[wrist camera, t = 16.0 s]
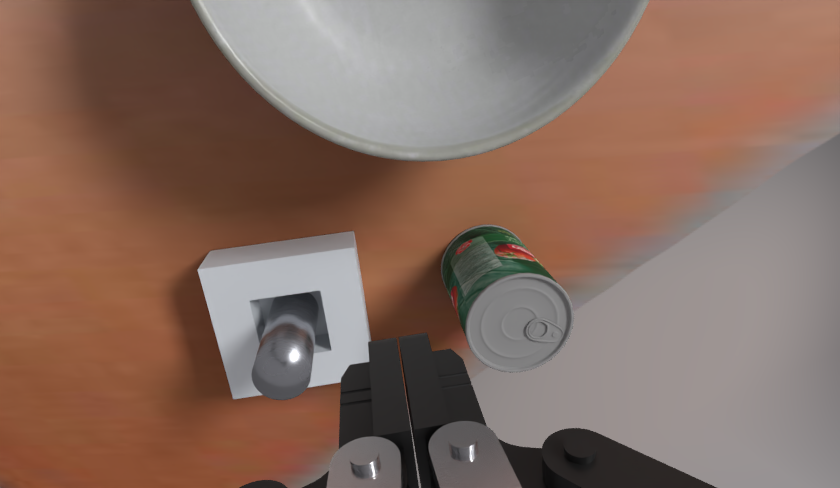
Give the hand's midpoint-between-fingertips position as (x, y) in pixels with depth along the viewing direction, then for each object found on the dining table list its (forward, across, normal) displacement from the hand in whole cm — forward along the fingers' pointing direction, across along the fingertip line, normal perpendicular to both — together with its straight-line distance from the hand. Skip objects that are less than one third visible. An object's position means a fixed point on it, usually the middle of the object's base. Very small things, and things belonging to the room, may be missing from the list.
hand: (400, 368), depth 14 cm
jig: (+32, +8, +13) cm, 35 cm away
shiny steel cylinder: (+31, +8, +13) cm, 35 cm away
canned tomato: (+32, -9, +12) cm, 36 cm away
